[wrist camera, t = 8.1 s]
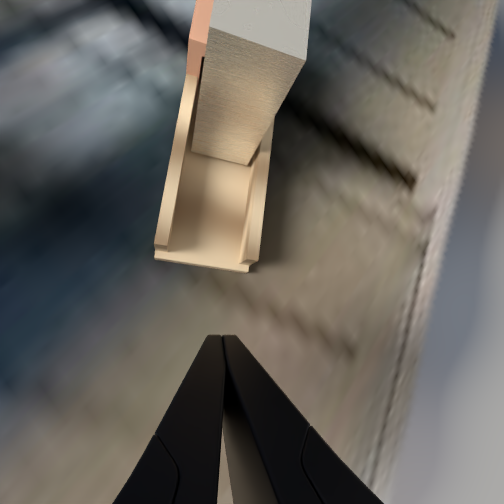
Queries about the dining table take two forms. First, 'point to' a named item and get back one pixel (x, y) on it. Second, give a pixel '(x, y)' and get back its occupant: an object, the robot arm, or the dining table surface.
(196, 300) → the dining table surface
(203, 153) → the brushed grey block
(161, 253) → the guide channel
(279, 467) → the robot arm
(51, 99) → the dining table surface
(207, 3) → the peach block
